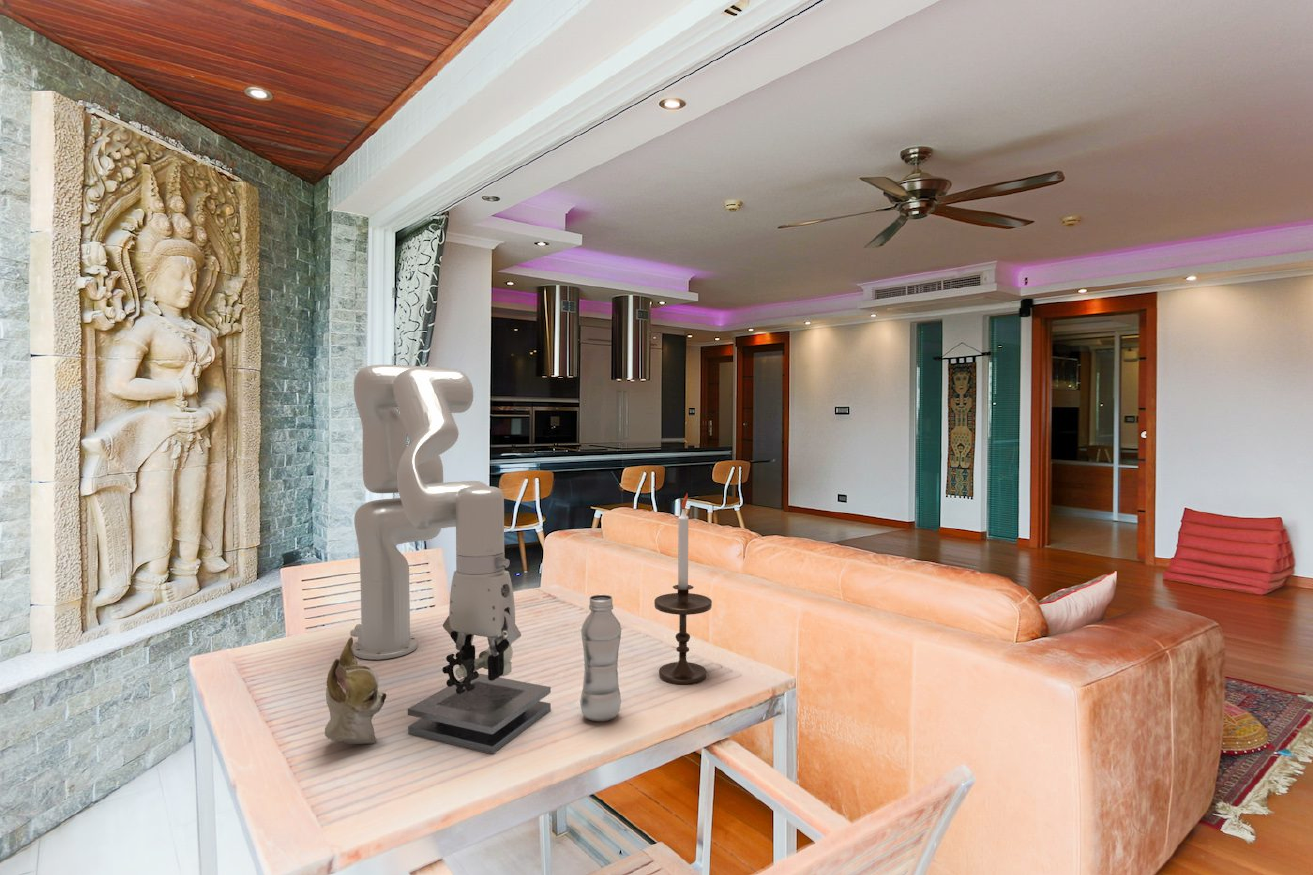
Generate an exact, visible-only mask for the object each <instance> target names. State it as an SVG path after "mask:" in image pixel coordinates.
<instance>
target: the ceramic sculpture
mask: <svg viewBox="0 0 1313 875" xmlns="http://www.w3.org/2000/svg"><path fill="white" fill-rule="evenodd" d="M353 644H354V638H353V636H350V637H349V638H348V640H347V642H346V644H345V646H344V648H343V650H342V652H341V654H340V657H339V658H337V657H336V658H335V659H334V661H333V663H332V665H331V667H330V670H329V671H328V672H327V673H328V674H327V677H326V678H327V679H326V693H325V700H326V705H327V708H328V710H329V715H330V719H329V721H328V722H327V724H326V725H325V728H324V736H325V737H326V738H327V739H329V740H332V741H337V742H340V741H341V742H344V743H345V744H352V745H361V744H362V745H367V744H371V745H372V744H375V743H377V737H376V735H375V734H376V733H375V729H374V724H373V722H372V720H373V717H374V715H376V714H378V713H379V712H380V711H381V710H382V707H383V706H384V704H385V700H386V698H387V693H386V692H383V691H379V677H378V676H379V675H378V674H377V673H376V672H375V671H374V670H373V669H372V668H371V667H370V666H366V665H363V664H362V665H361V664H359V665H358V661H357V659H356V658H355V655H354V651H353V648H352V647H353Z"/></svg>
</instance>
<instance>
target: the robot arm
mask: <svg viewBox="0 0 1313 875" xmlns="http://www.w3.org/2000/svg"><path fill="white" fill-rule="evenodd" d="M353 397H354V398H353V399H354V401H355V406H356V408H357V411H358V414H359V418H360V422H361V429H362V480H363V485H364V487H365V489H367V490H368V491H369V492H371V493H375V494H399V495H398V496H399V497H396V498H395V497H394V498H384V499H376V500H375V499H374V500H371V501H368V502H365V503H363V504H361V505H360V506H359V507H358V508H357V510H356V511H355V514H354V518H353V522H354V523H353V524H354V530H355V535H356V539H357V540H356V541H357V545H358V546H357V547H358V555H359V570H360V571H359V573H360V574H359V575H360V576H359V577H360V623H361V624H360V623H358V624H356V625H355V626H354V629H352V630H350V633H349V635H350V637H354V638H355V637H356V638H357V643H355V645H354V646H353V648H352V651H353V654H354V657H357V658H359V659H362V660H371V661H373V660H377V661H378V660H388V659H393V658H398V657H402V656H405V655H408V654H410V653H412V652H414V651H415V650H417V648H418V646H419V639H417V638H416V637H414V636H412V635H411V616H410V615H411V611H410V610H411V608H410V607H411V606H410V605H411V604H410V602H411V601H410V598H411V596H410V595H411V594H410V566H409V565H410V564H409V561H408V560H407V558H406V557H405V556H404V554H403V553H402V552H401V551H400V550H399V549H398V548H397V546H398V545H400V544H402V545H403V544H406V543H413V542H422V541H428V540H432V539H435V538H436V537H437V536H438V535H439V534H440V533H441V531H442V529H447V528H454V527H455V552H456V553H455V554H456V555H455V557H456V558H455V562H456V564H455V565H456V566H455V567H456V568H455V569H456V570H455V571H454V572H453V575H452V580H451V586H450V592H449V593H450V596H449V606H448V607H449V609H448V610H449V613H448V616H447V618H446V619H445V620H444V622H443V623H442V627H443V629H444V630H445V631H446V633H448V635H450V638H451V639H452V641H453V642H454V643H455V649H456V650H457V651H458V652H459V651H464V653H465V655H464V656H463V659H465V660H467V659H469V658H473V659H474V660H475V659H476V645H475V644H474V645H473V641H474V636H478V637H483V638H487V642H488V643H489V644H488V648H489V647H490V651H491V655H490V656H488V669H487V675H488V679H489V680H490V681H493V680H495V679H496V678H498V677H500V678H501V677H503V676H502V675H503V671H504V651H506V650H507V648H508V647H509V646H510V645H511V646H512V644H513V643H515V642H516V641H517V640H518V639H520V638H521V637H522V632H521V631H520V630H519V627H518V626H517V625H516V612H515V611H516V607H515V597H514V588H513V583H512V578H511V575H510V572H509V571H508V570H505V568H506V569H507V568H509V567H510V559H509V558H506V557H505V555H506V554H505V497H504V492H503V490H502V489H500V488H499V487H496V486H490V485H488V484H486V483H485V482H482V481H480V480H479V481H477V480H464V481H463V480H462V481H449V482H448V481H447V482H446V481H445V482H444V468H443V467H444V466H443V462H442V459H441V456H440V455H442V454H443V453H445V452H447V451H449V449H451V448H452V447H453V446H454V445H455V444H456V442H457V441H458V438H459V428H458V426H457V423H456V421H455V419H454V416H453V414H461V413H465V412H466V411H468V410H469V409H470V408H471V406H472V405H473V402H474V387H473V384H472V382H471V379H469V376H467V375H466V373H465V372H464V371H462V370H460V369H456V368H445V367H441V366H424V365H423V366H422V365H420V366H419V365H403V364H374V365H367V366H365V367H364V366H363V367H362V368H361V369H360V370H358V371H357V372H356V375H355V377H354V382H353ZM396 408H398V409H396ZM407 437H408V438H407ZM407 440H408V441H409V444H408V442H407ZM504 631H507V633H508V636H507V637H506V638H505V636H504ZM496 638H497V641H498V645H497V641H496Z"/></svg>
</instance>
